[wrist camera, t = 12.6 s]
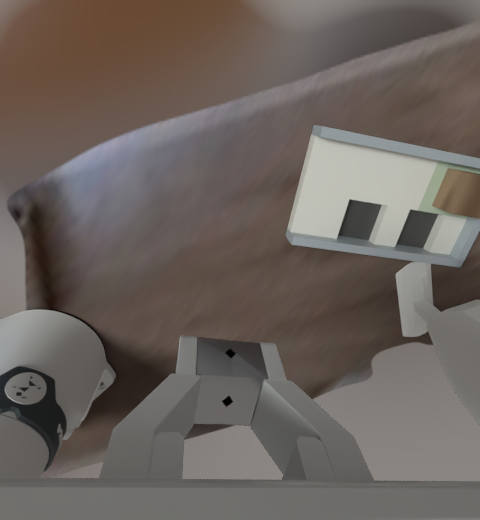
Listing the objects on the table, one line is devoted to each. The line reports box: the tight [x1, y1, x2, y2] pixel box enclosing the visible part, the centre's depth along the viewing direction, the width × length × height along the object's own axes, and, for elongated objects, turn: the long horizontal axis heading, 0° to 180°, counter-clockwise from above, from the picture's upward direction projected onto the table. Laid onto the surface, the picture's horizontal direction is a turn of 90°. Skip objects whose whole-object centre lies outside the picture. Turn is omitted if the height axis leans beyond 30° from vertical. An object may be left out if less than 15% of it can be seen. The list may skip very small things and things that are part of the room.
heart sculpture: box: [395, 262, 480, 425], centre depth 39 cm, size 16×5×18 cm, turn 18°
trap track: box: [286, 125, 480, 268], centre depth 38 cm, size 23×13×3 cm, turn 79°
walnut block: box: [432, 168, 480, 219], centre depth 37 cm, size 4×4×4 cm
